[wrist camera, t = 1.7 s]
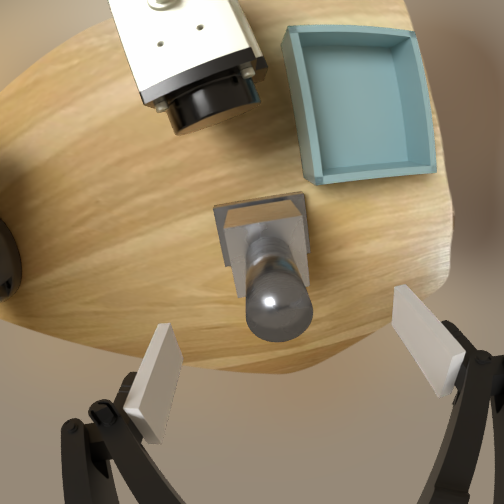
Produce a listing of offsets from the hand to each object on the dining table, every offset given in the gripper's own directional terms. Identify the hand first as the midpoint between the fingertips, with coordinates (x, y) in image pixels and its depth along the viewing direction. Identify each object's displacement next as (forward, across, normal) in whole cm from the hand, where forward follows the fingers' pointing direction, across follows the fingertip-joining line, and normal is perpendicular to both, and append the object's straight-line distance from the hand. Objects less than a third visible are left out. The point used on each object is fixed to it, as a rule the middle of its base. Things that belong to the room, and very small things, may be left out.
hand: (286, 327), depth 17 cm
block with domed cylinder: (+17, 0, 0) cm, 17 cm away
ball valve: (+20, -4, +21) cm, 29 cm away
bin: (+20, +12, +13) cm, 27 cm away
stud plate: (+20, 0, 0) cm, 20 cm away
